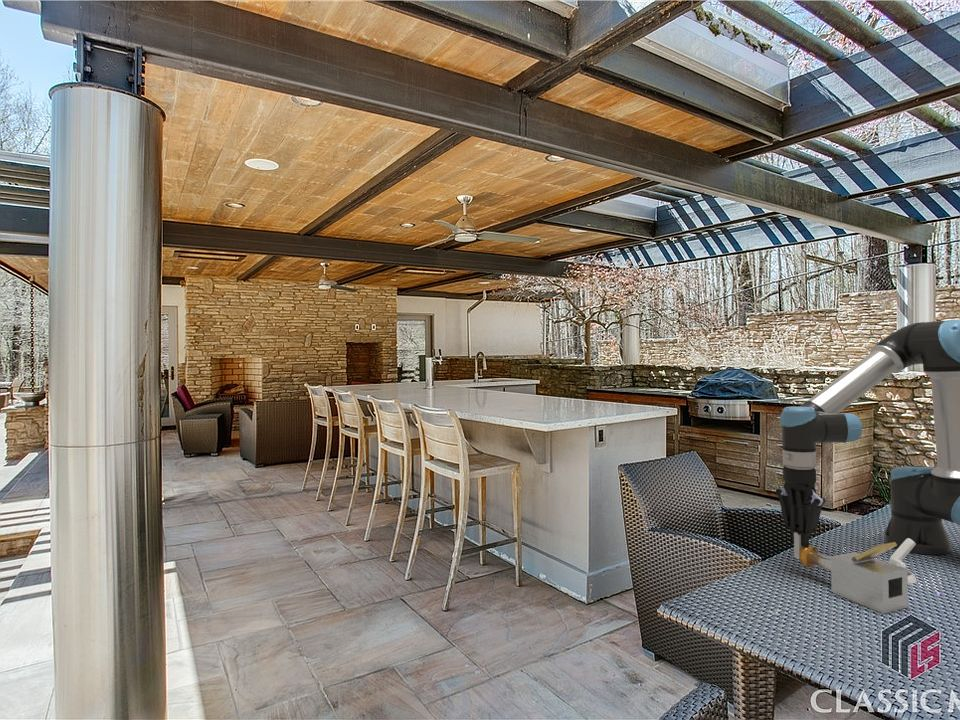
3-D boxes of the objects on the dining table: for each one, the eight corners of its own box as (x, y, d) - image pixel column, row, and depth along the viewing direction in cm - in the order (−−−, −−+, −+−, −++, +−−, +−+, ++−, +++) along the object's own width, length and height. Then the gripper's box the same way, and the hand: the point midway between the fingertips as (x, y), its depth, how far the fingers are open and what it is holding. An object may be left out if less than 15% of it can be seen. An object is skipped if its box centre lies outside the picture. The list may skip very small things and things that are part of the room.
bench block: (855, 587, 136) (854, 551, 136) (908, 607, 125) (907, 569, 125) (831, 592, 133) (831, 556, 133) (883, 613, 122) (882, 574, 122)
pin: (814, 564, 144) (814, 544, 144) (861, 581, 133) (860, 559, 133) (799, 567, 143) (799, 546, 143) (845, 585, 131) (845, 563, 131)
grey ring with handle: (945, 562, 137) (926, 548, 135) (912, 599, 138) (893, 586, 137) (918, 545, 144) (900, 532, 143) (887, 581, 146) (869, 568, 144)
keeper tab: (872, 559, 131) (868, 554, 132) (898, 546, 125) (894, 541, 126) (854, 563, 129) (850, 558, 129) (879, 549, 123) (875, 544, 124)
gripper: (767, 463, 150) (769, 551, 150) (810, 472, 138) (812, 568, 138) (788, 461, 153) (790, 547, 153) (833, 469, 140) (834, 564, 140)
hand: (800, 557), depth 145 cm, fingers closed
